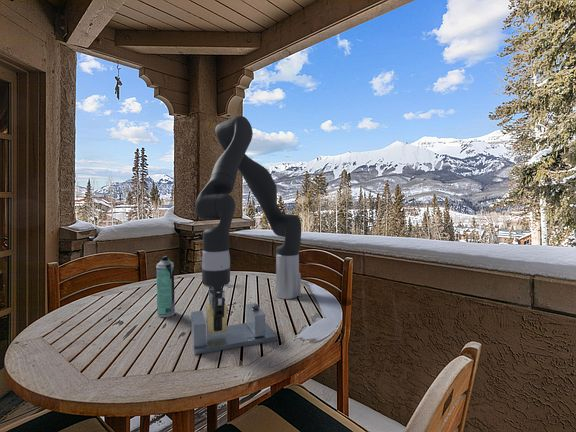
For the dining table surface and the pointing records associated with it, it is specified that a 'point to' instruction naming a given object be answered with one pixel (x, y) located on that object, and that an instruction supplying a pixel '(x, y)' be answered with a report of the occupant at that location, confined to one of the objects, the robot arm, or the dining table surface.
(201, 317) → the vise
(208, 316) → the block
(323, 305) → the dining table surface
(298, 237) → the robot arm
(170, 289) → the spray can
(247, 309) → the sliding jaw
